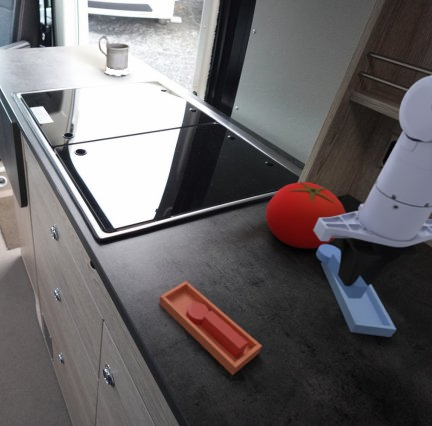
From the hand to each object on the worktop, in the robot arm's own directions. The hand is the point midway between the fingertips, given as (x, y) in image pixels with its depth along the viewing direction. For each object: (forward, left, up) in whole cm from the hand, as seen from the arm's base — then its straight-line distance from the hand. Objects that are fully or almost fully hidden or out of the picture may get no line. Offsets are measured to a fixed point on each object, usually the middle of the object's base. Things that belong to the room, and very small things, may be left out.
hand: (352, 280), depth 48 cm
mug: (+115, -36, -9) cm, 121 cm away
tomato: (+14, -12, -9) cm, 20 cm away
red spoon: (+7, +16, -8) cm, 19 cm away
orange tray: (+8, +16, -8) cm, 20 cm away
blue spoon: (+3, -2, -1) cm, 3 cm away
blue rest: (+1, -7, -8) cm, 11 cm away
